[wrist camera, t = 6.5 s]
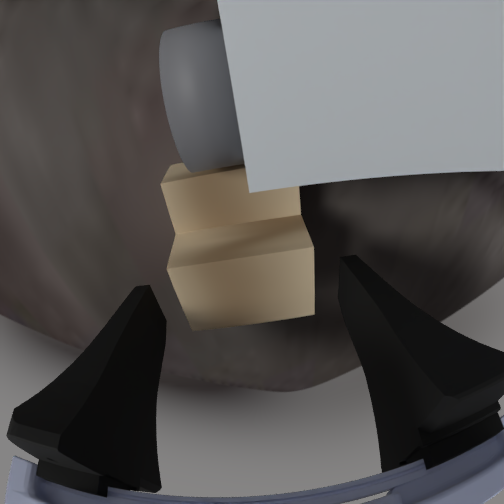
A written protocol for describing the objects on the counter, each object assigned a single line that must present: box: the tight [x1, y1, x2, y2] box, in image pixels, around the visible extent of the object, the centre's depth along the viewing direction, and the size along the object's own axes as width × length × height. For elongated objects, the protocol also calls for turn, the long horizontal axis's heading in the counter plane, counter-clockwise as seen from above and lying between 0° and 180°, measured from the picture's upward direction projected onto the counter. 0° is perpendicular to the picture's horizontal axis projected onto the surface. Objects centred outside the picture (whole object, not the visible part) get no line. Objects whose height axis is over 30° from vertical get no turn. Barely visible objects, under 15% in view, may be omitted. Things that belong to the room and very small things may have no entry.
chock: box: [161, 163, 315, 331], centre depth 11 cm, size 4×5×4 cm
